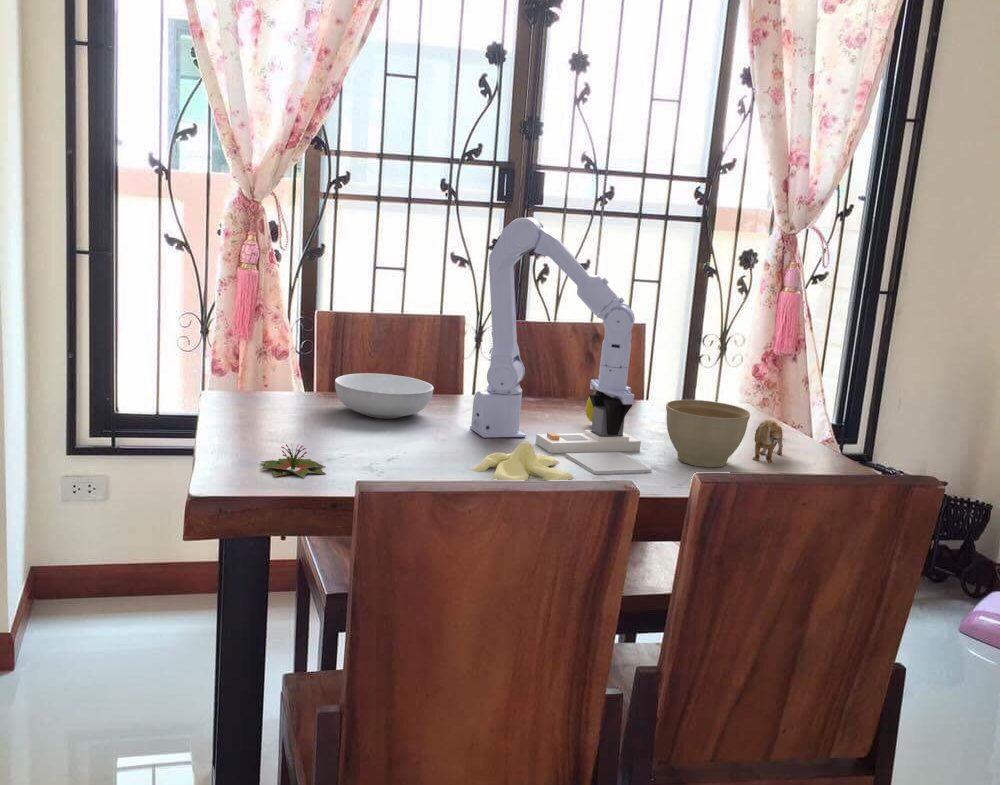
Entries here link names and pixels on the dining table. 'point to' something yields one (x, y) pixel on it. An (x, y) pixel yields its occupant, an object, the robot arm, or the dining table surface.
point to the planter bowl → (705, 430)
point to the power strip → (586, 442)
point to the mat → (608, 463)
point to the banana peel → (522, 465)
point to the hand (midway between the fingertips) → (607, 431)
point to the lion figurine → (768, 439)
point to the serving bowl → (383, 394)
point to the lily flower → (293, 464)
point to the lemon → (589, 409)
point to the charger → (602, 423)
